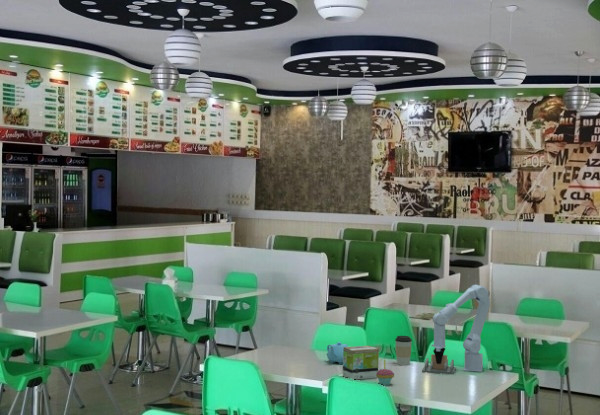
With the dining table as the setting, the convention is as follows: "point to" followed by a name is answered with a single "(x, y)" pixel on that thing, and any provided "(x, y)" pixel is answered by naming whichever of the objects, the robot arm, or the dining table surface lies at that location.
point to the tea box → (360, 362)
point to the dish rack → (446, 369)
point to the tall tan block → (435, 365)
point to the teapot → (336, 352)
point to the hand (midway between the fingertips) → (439, 363)
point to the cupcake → (385, 375)
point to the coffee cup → (403, 350)
